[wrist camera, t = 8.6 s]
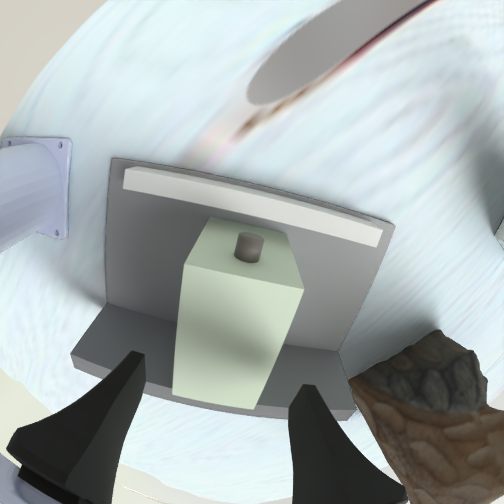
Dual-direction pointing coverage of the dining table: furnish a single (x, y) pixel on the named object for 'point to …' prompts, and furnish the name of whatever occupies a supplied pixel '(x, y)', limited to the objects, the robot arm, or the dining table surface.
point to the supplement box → (500, 234)
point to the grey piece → (172, 265)
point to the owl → (435, 422)
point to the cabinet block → (233, 312)
